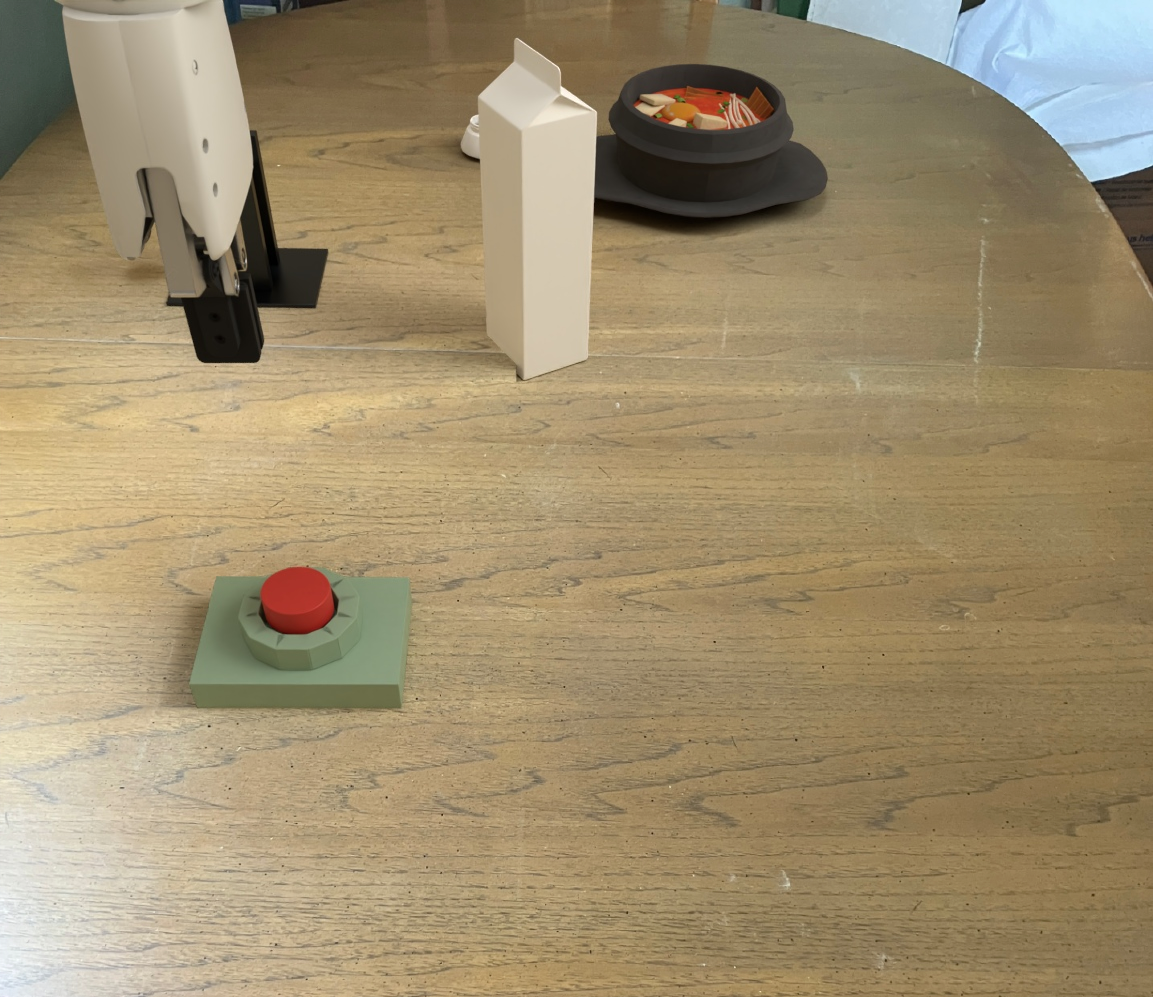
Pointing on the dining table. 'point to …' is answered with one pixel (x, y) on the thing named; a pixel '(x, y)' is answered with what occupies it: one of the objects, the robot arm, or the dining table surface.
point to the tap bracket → (274, 252)
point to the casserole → (703, 145)
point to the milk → (537, 214)
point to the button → (297, 600)
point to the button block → (305, 648)
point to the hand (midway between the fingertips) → (232, 353)
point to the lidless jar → (471, 138)
